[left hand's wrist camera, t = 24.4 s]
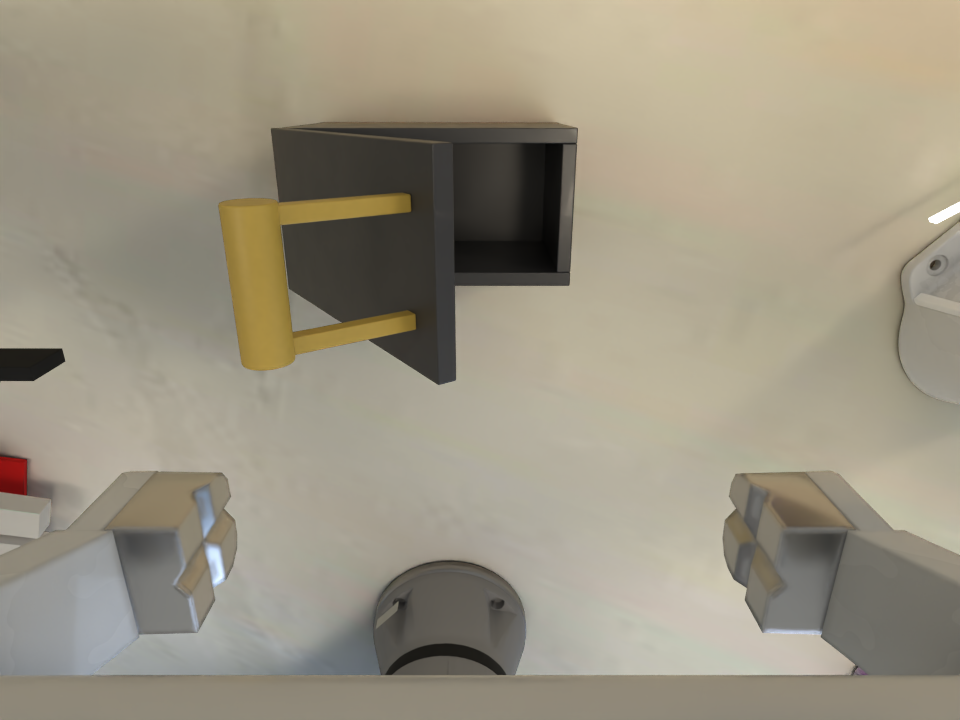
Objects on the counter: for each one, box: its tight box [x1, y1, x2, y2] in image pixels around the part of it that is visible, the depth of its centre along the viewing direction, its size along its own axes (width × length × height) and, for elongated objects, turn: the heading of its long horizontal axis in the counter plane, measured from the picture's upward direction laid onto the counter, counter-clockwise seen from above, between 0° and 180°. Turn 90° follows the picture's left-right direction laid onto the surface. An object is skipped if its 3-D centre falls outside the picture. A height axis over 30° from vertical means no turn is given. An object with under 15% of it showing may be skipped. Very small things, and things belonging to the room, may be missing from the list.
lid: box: [218, 128, 456, 385], centre depth 30 cm, size 18×10×8 cm
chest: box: [284, 122, 578, 286], centre depth 45 cm, size 18×10×11 cm, turn 90°
